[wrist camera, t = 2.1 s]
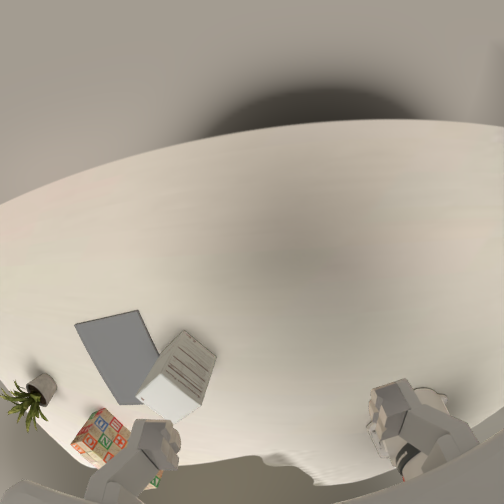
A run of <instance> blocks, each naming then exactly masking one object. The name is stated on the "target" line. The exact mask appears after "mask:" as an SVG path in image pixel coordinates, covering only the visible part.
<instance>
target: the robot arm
mask: <svg viewBox="0 0 504 504" xmlns="http://www.w3.org/2000/svg"><path fill="white" fill-rule="evenodd" d="M370 396H371V398H372V399H371V400H370V401H369V406H368V407H369V414H370V417H371V420H372V422H371V423H370V424H369V425H368V426H367V430H368V432H369V434H370V436H371V438H372V440H373V443H374V445H375V447H376V449H377V451H378V453H379V455H380V457H381V458H390V460H391V463H392V465H393V466H395V467H397V469H398V471H399V473H400V474H401V475H402V476H403V481H404V482H402V483H399V484H397V485H394V486H391V487H388V488H386V489H383V490H380V491H377V492H374V493H371V494H368V495H364V496H361V497H358V498H354V499H350V500H346V501H342V502H338V503H334V504H504V429H502V430H501V431H499V432H498V433H496V434H495V435H493V436H492V437H490V438H489V439H487V440H486V441H484V442H482V443H481V444H480V443H479V441H478V440H477V438H476V437H475V435H474V434H473V431H472V430H471V428H470V427H469V425H468V423H466V422H464V421H462V420H459V419H457V418H455V417H453V416H451V415H450V414H449V412H448V410H447V408H446V403H447V401H448V398H447V396H446V395H442V394H437V393H436V392H435V391H433V390H431V389H427V388H421V389H416V390H413V388H412V387H411V385H410V383H409V382H408V380H407V379H405V378H404V379H401V380H398V381H396V382H392V383H389V384H386V385H383V386H379V387H376V388H373V389H372V390H371V392H370ZM180 448H181V438H180V435H179V433H178V431H177V430H176V429H174V428H173V423H172V422H171V420H151V419H136V420H135V422H134V424H133V427H132V431H131V434H130V437H129V441H128V444H127V448H123V449H122V450H121V451H120V452H118V453H117V454H116V455H115V456H114V457H113V458H112V459H110V460H109V461H108V462H107V463H106V464H105V465H104V466H102V467H101V468H100V469H99V470H98V471H97V472H95V473H94V474H93V475H92V476H91V477H90V480H89V483H88V486H87V489H86V492H85V496H84V499H81V498H78V497H75V496H71V495H68V494H65V493H62V492H59V491H56V490H53V489H51V488H47V487H45V486H43V485H40V484H37V483H35V482H33V481H30V480H22V481H20V482H18V483H16V484H15V485H13V486H12V487H10V488H9V489H8V490H6V492H5V493H4V495H3V497H2V499H1V502H0V504H144V503H143V502H142V501H140V500H139V499H138V498H137V497H138V496H139V495H140V494H141V492H142V491H143V490H144V489H145V488H146V487H147V485H148V484H149V483H150V482H151V480H152V479H153V478H154V477H155V476H156V474H157V473H158V472H159V470H178V463H179V457H178V456H177V453H178V452H179V451H180Z"/></svg>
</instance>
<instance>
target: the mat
mask: <svg viewBox="0 0 504 504" xmlns="http://www.w3.org/2000/svg"><path fill="white" fill-rule="evenodd" d="M74 326H75V328H76V330H77V332H78V334H79V336H80V338H81V340H82V342H83V344H84V346H85V348H86V350H87V352H88V353H89V355H90V357H91V359H92V361H93V362H94V364H95V366H96V368H97V370H98V371H99V373H100V375H101V376H102V378H103V380H104V381H105V383H106V385H107V386H108V388H109V389H110V391H111V393H112V394H113V396H114V397H115V399H116V400H117V402H118V403H119V405H140V404H143V403H142V402H141V401H140V400H139V399H137V398H136V397H135V395H136V394H137V392H138V390H139V389H140V387H141V385H142V384H143V382H144V380H145V379H146V377H147V375H148V374H149V372H150V370H151V369H152V367H153V365H154V364H155V362H156V361H157V359H158V357H159V356H160V355H159V353H158V351H157V349H156V347H155V345H154V343H153V341H152V339H151V337H150V335H149V333H148V331H147V328H146V326H145V324H144V322H143V320H142V317H141V315H140V313H139V311H138V310H136V311H132V312H128V313H123V314H119V315H115V316H110V317H106V318H101V319H97V320H92V321H88V322H83V323H79V324H75V325H74Z"/></svg>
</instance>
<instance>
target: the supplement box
mask: <svg viewBox="0 0 504 504" xmlns="http://www.w3.org/2000/svg"><path fill="white" fill-rule="evenodd" d="M215 361H216V356H215V355H213V354H212V353H211V352H210V351H208V350H207V349H206V348H205V347H204V346H203V345H201V344H200V343H199V342H198V341H197V340H195V339H194V338H193V337H192V336H191V335H189V334H188V333H187V332H186V331H183V332H182V333H181V334H180V335H179V336H177V337H176V338H175V339H174V340H173V341H172V342H171V343H170V344H169V345H168V346H167V347H166V348H165V349H164V350H163V351H162V352H161V354H160V356H159V357H158V359H157V361H156V362H155V364H154V365H153V367H152V369H151V370H150V372H149V374H148V375H147V377H146V379H145V380H144V382H143V384H142V385H141V387H140V389H139V390H138V392H137V394H136V395H135V397H136V398H137V399H139V400H140V401H141V402H142V403H143V404H145V405H146V406H147V407H149V408H150V409H151V410H153V411H154V412H156V413H157V414H158V415H160V416H161V417H162V418H164V419H165V420H171V422H172V423H173V425H174V424H176V423H177V422H179V421H180V420H182V419H183V418H185V417H186V416H187V415H189V414H190V413H192V412H193V411H195V410H196V409H198V408H199V407H200V406H201V405H202V402H203V399H204V396H205V392H206V389H207V386H208V383H209V380H210V377H211V374H212V370H213V367H214V364H215Z"/></svg>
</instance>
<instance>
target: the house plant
mask: <svg viewBox="0 0 504 504" xmlns="http://www.w3.org/2000/svg"><path fill="white" fill-rule="evenodd" d="M13 381H14V380H13ZM14 383H15V385H16V387H17V389H18V390H19V391H20V392H21V393H20V392H17V391H14V392H15V393H13V392H12V391H11V392H10V391H9V392H10V393H11V394H13V395H14V396H16V397H10V396H8V395H7V394H6V393H5V392H4V391H3V392H4V393H5V395H7V396H5V395H4V397H3V396H1V395H0V397H2V398H4V399H6V400H9V401H11V402H13V401H19V402H23V403H21V404H17V403H15V402H13V403H14V404H16V405H17V406H15V407H13V408H12V409H11V410H10V411H8V413H9V414H12V413H16V412H19V411H21V412H20V414H19V417H18V420H17V422H18V421H19V420H20V418H21V416H22V415H23V416H24V412H25V411H26V410H27V409H28V407H29V406H30V405H31V407H30V410H29V413H28V415H27V418H26V428H27V432H28V431H29V426H30V422H31V420H32V417H33V421H34V426H35V428H36V421H35V416H36V417H37V418H39V413H40V415H41V417H42V418H43V419H44V420H45V421H48V420H47V419H46V417H45V416H44V415H43V413H42V412H41V410H40V407H39V405H40V406H43V407H46V406H47V405H48V403H49V402H50V400H51V398H52V396H53V395H54V393H55V391H56V390H57V385H56V383H55V381H54V380H53V379H52V378H51V377H50V376H49V375H48V374H42V375H40V376H39V377H37V378H35V379H34V380H32V381H31V382H29V383H27V384H26V389H27V392H28V393H25V392H23V391H21V390H20V388H22V387H20V388H19V386H18V385H17V383H16V379H15V382H14ZM23 389H25V388H23ZM2 390H3V389H2ZM13 390H14V389H13ZM29 396H30V397H29ZM25 397H27V398H25ZM20 398H21V399H20ZM9 414H8V415H9ZM36 429H37V428H36Z"/></svg>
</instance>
